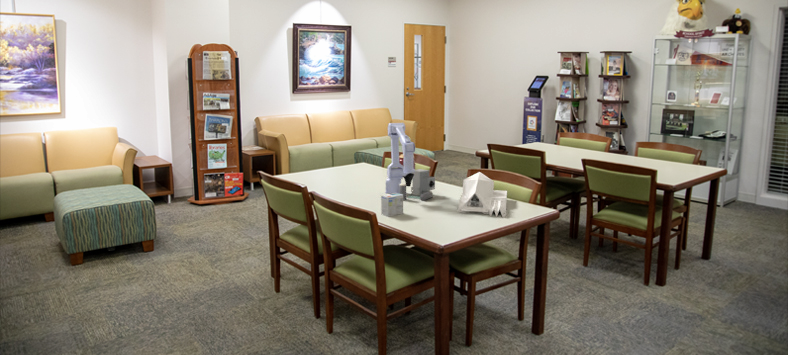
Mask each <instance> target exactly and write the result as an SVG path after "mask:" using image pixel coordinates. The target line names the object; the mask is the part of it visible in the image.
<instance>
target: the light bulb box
mask: <svg viewBox="0 0 788 355" xmlns="http://www.w3.org/2000/svg"><path fill="white" fill-rule="evenodd" d="M380 198H381V199H380V200H381V201H380V202H381V204H380V205H381V207H380V210H381V211H380V212H381V213H380V214H381V215H382V214H383V215H382V216H386V217H387V218H389V217H392V216H397V215H402V214H404V200H403V194H399V193H386V194H381V195H380Z"/></svg>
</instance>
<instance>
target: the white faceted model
mask: <svg viewBox="0 0 788 355" xmlns="http://www.w3.org/2000/svg"><path fill="white" fill-rule="evenodd" d="M462 182H463V183H462V192H461V195H460V197H459V199H458V206H457V213H466V214H467V213H469V212H470V213H471V212H479V213H482V214H483V215H489V216H490V217H492V215H493V212H494V213H495V214H494V215H495V217H498V214H499V212H500V214H501V216H502V218H505V217H506V216H507V213H506V212H507V210H506V209H507V200H508V197H507V196H508V191H507V190H500V189H499V190H497V189H495V186H494V184H495V180H492V179H491V178H489V177H488V176H487V175H485V174H484V173H482V172H480V171H478V172H477V173H474V174H473V175H472V174H471V176H469V177H466V178H463V181H462ZM494 189H495V190H494ZM472 199H473V200H472ZM474 199H475V200H474ZM476 199H477V200H478V201H477V200H476Z"/></svg>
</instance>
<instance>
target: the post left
mask: <svg viewBox="0 0 788 355" xmlns="http://www.w3.org/2000/svg"><path fill="white" fill-rule="evenodd" d="M399 186H400V194H403V201H405V200H407V186H406V183H402V182H401V184H399Z"/></svg>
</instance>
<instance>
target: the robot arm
mask: <svg viewBox="0 0 788 355" xmlns="http://www.w3.org/2000/svg"><path fill="white" fill-rule="evenodd" d="M387 136H388V137H390V152H391V163H390V164H388V165H387V169H386V174H387V175H386V176H387V178H386V179H385V192H384V193H385V194H392V193H399V194H400V186H399V184H402V180H404V182H405V183H404V184H406V187H412V186H411V184H412V180H413V176H414V174H412V173H414V172H415V170H416V168H415V169H413V157H414V158H415V156H414V153H415V151H416V145H415V144H416V143H415V142H414V141H411V139H410V137H409V135H407V134H406V124H405V123H404V122H389V123H388V125H387ZM399 142H400V144H401V148H402V154H403V155H404V169H403V165H401V164H400V163H399V156H400V149H399V148H400V147H399V146H400V144H399ZM398 167H399V168H398Z"/></svg>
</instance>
